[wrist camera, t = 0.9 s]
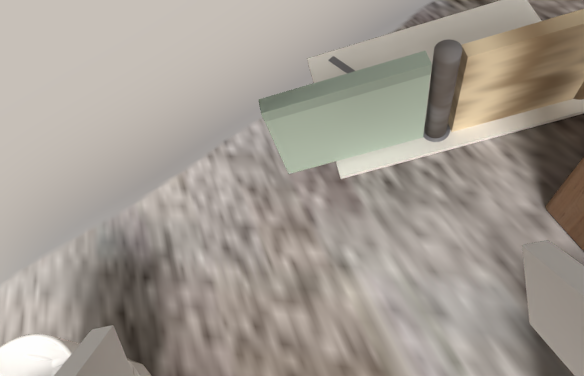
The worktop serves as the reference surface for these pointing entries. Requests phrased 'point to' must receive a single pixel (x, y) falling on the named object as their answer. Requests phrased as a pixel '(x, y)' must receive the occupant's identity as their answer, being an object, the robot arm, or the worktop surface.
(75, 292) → the worktop surface
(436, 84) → the fixed fence section
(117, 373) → the robot arm
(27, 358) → the white cup
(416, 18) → the worktop surface
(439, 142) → the card
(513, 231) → the worktop surface
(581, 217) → the wooden block
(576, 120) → the worktop surface
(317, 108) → the hinged fence section
